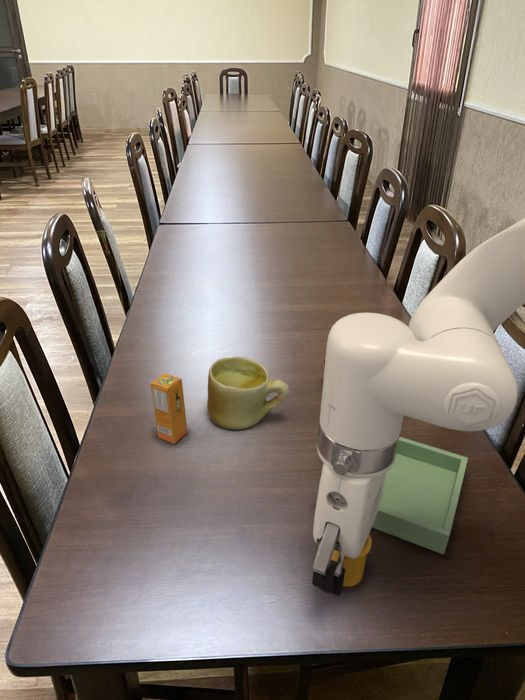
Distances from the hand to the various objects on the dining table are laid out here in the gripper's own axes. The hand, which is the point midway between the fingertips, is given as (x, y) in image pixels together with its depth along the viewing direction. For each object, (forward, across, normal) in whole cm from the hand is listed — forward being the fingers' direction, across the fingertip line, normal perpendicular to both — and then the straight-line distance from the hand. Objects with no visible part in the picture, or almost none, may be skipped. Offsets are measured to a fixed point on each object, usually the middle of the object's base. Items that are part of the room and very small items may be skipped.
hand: (339, 558), depth 60 cm
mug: (+2, +20, +22) cm, 30 cm away
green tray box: (+2, +15, -3) cm, 15 cm away
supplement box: (+2, +10, +30) cm, 32 cm away
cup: (+2, 0, -1) cm, 2 cm away
